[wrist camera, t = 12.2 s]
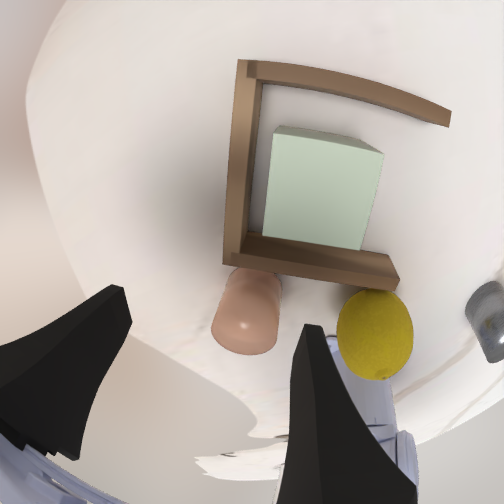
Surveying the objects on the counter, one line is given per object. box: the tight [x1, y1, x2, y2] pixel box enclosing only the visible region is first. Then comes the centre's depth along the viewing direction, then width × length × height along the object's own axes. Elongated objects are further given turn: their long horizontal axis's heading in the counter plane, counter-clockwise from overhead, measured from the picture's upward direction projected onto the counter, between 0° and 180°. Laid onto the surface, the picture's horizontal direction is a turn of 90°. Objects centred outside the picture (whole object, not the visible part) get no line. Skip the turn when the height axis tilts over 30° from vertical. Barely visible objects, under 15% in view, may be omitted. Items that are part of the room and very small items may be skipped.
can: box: [465, 281, 504, 363], centre depth 16 cm, size 5×5×6 cm
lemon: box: [337, 288, 413, 381], centre depth 17 cm, size 6×6×8 cm
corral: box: [222, 59, 452, 291], centre depth 15 cm, size 12×12×3 cm
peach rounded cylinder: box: [211, 267, 282, 355], centre depth 19 cm, size 4×4×5 cm
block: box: [262, 125, 384, 251], centre depth 14 cm, size 5×5×5 cm
